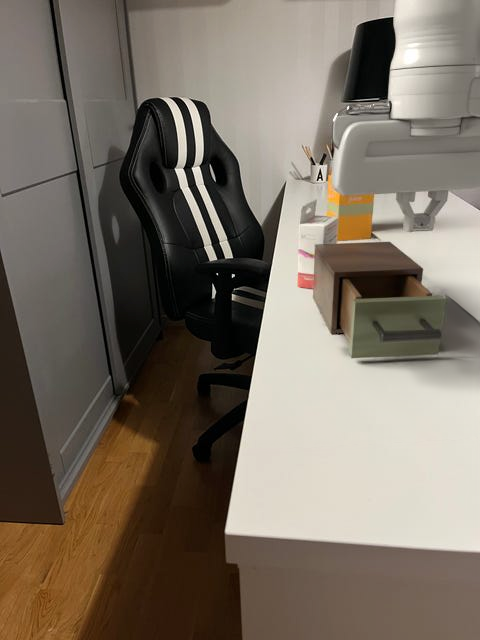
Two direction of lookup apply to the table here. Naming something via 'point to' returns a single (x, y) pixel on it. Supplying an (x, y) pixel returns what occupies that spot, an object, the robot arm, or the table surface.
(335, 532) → the table surface
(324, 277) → the cabinet
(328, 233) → the ink cartridge box
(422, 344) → the drawer
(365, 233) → the orange juice
